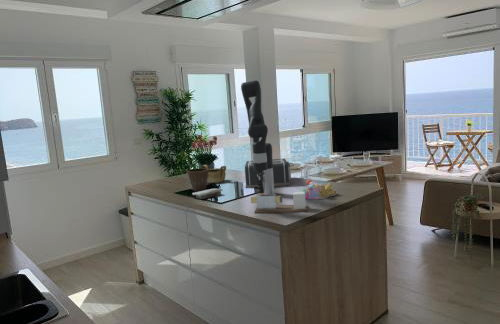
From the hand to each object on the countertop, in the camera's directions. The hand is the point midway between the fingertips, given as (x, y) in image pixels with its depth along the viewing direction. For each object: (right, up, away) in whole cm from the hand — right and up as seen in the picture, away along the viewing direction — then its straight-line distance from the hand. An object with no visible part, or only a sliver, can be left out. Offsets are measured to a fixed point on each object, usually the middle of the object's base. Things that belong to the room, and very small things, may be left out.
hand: (262, 192), depth 218 cm
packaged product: (-31, -5, +41) cm, 52 cm away
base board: (+11, -10, -1) cm, 14 cm away
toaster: (+8, 0, +78) cm, 78 cm away
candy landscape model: (+34, -5, +29) cm, 46 cm away
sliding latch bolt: (+2, -6, 0) cm, 6 cm away
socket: (+20, -9, -2) cm, 22 cm away
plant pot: (-43, -5, +68) cm, 81 cm away
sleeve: (+3, -9, +1) cm, 9 cm away
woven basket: (-34, -1, +96) cm, 101 cm away
